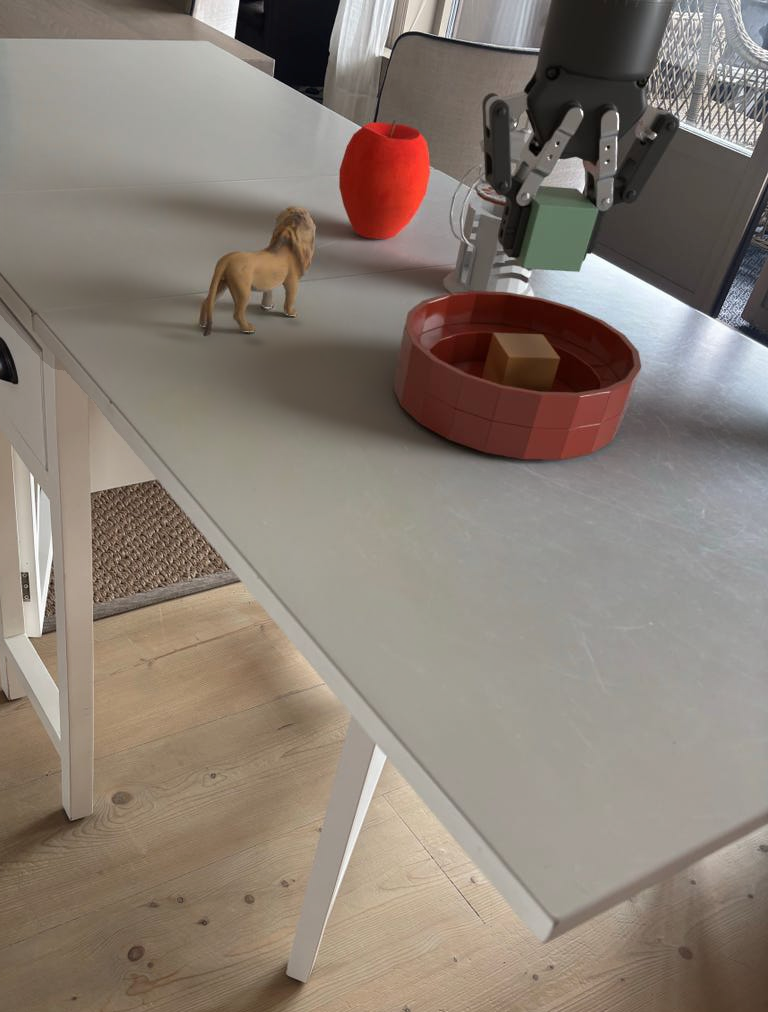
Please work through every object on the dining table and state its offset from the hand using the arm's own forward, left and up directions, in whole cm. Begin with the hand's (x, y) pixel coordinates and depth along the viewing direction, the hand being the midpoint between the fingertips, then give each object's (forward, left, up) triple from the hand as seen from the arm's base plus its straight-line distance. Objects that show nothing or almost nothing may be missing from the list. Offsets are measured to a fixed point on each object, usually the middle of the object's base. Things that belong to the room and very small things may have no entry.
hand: (543, 254), depth 73 cm
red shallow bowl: (-1, -2, -14) cm, 14 cm away
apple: (+3, -41, -14) cm, 44 cm away
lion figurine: (+19, -18, -14) cm, 30 cm away
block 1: (0, 0, 0) cm, 0 cm away
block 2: (-2, -3, -13) cm, 14 cm away
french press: (-6, -27, -14) cm, 31 cm away
